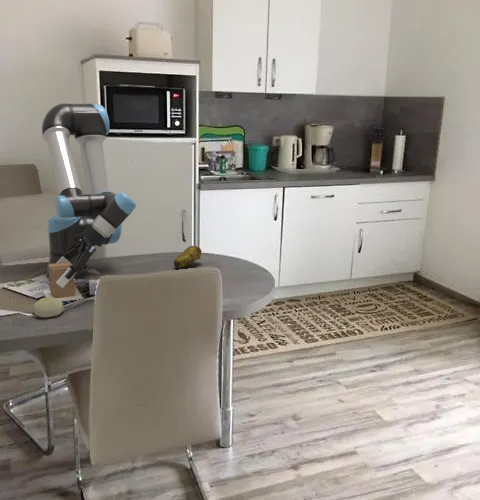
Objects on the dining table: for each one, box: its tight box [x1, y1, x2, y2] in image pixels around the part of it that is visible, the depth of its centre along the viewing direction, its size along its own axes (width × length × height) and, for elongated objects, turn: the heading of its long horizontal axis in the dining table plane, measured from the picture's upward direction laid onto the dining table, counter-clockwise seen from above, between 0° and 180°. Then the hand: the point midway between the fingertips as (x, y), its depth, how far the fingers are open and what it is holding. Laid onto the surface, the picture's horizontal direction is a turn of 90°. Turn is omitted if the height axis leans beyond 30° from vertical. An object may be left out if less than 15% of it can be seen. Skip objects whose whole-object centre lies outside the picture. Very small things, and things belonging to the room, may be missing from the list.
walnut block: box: [48, 262, 76, 298], centre depth 190 cm, size 7×7×10 cm
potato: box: [173, 245, 202, 269], centre depth 227 cm, size 8×13×8 cm, turn 119°
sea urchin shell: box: [32, 297, 64, 318], centre depth 177 cm, size 9×8×8 cm
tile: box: [43, 286, 84, 301], centre depth 191 cm, size 11×11×1 cm
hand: (55, 278), depth 189 cm, fingers open, 13 cm apart
